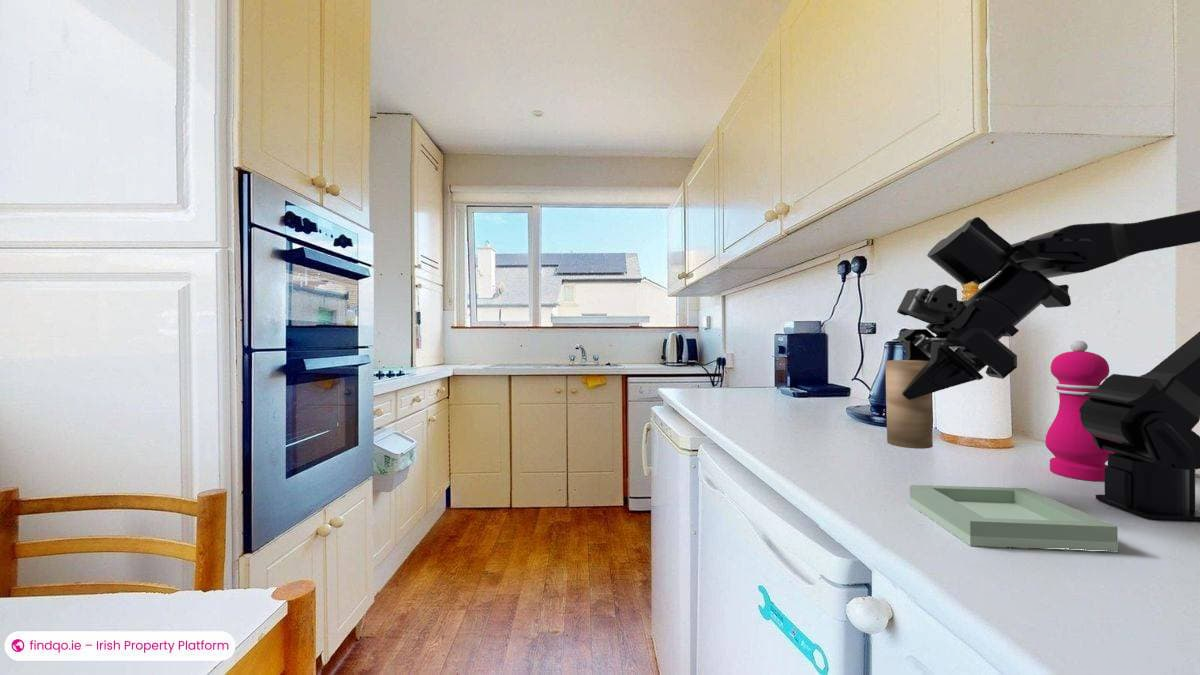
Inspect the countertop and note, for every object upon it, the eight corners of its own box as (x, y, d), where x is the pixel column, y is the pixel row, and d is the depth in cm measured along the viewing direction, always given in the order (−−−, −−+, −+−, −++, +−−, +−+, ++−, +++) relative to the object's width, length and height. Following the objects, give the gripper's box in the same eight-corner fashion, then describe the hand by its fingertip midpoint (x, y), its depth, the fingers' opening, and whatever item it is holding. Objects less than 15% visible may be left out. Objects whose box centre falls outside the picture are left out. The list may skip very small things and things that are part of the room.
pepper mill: (1082, 468, 70) (1082, 340, 70) (1132, 483, 63) (1132, 340, 63) (1032, 467, 71) (1031, 340, 71) (1075, 482, 64) (1075, 341, 64)
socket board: (1026, 508, 55) (1025, 488, 55) (1117, 552, 44) (1117, 526, 44) (910, 504, 56) (909, 484, 56) (970, 545, 45) (970, 521, 45)
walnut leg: (918, 439, 62) (916, 359, 62) (941, 448, 57) (939, 362, 57) (879, 439, 63) (878, 360, 63) (899, 448, 58) (897, 362, 58)
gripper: (912, 275, 68) (832, 349, 71) (983, 255, 50) (872, 355, 53) (974, 327, 66) (889, 400, 69) (1071, 325, 48) (951, 424, 51)
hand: (897, 394), depth 60 cm, fingers closed on walnut leg, 5 cm apart
